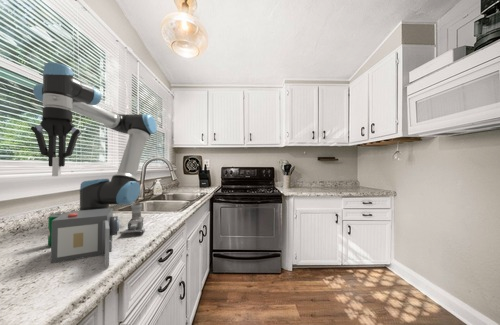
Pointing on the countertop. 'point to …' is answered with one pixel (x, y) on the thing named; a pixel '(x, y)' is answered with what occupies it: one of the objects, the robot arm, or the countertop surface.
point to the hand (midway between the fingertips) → (56, 176)
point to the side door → (106, 242)
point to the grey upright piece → (135, 219)
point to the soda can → (50, 218)
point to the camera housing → (80, 233)
